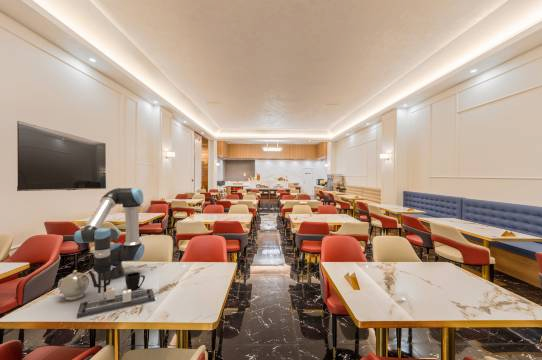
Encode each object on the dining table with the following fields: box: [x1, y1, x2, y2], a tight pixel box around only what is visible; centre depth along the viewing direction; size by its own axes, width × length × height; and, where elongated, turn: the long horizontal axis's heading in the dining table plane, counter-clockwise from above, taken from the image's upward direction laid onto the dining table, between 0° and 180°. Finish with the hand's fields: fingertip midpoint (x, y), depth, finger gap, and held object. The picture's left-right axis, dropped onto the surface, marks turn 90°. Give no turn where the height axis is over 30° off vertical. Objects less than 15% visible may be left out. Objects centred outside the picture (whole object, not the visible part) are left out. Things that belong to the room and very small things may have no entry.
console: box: [76, 288, 156, 319], centre depth 142 cm, size 14×36×3 cm, turn 121°
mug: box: [124, 271, 146, 292], centre depth 161 cm, size 8×12×10 cm
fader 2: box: [122, 289, 132, 303], centre depth 140 cm, size 4×4×5 cm
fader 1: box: [105, 286, 116, 300], centre depth 143 cm, size 4×4×5 cm
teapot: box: [57, 269, 90, 301], centre depth 150 cm, size 18×14×16 cm
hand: (102, 298), depth 141 cm, fingers closed
